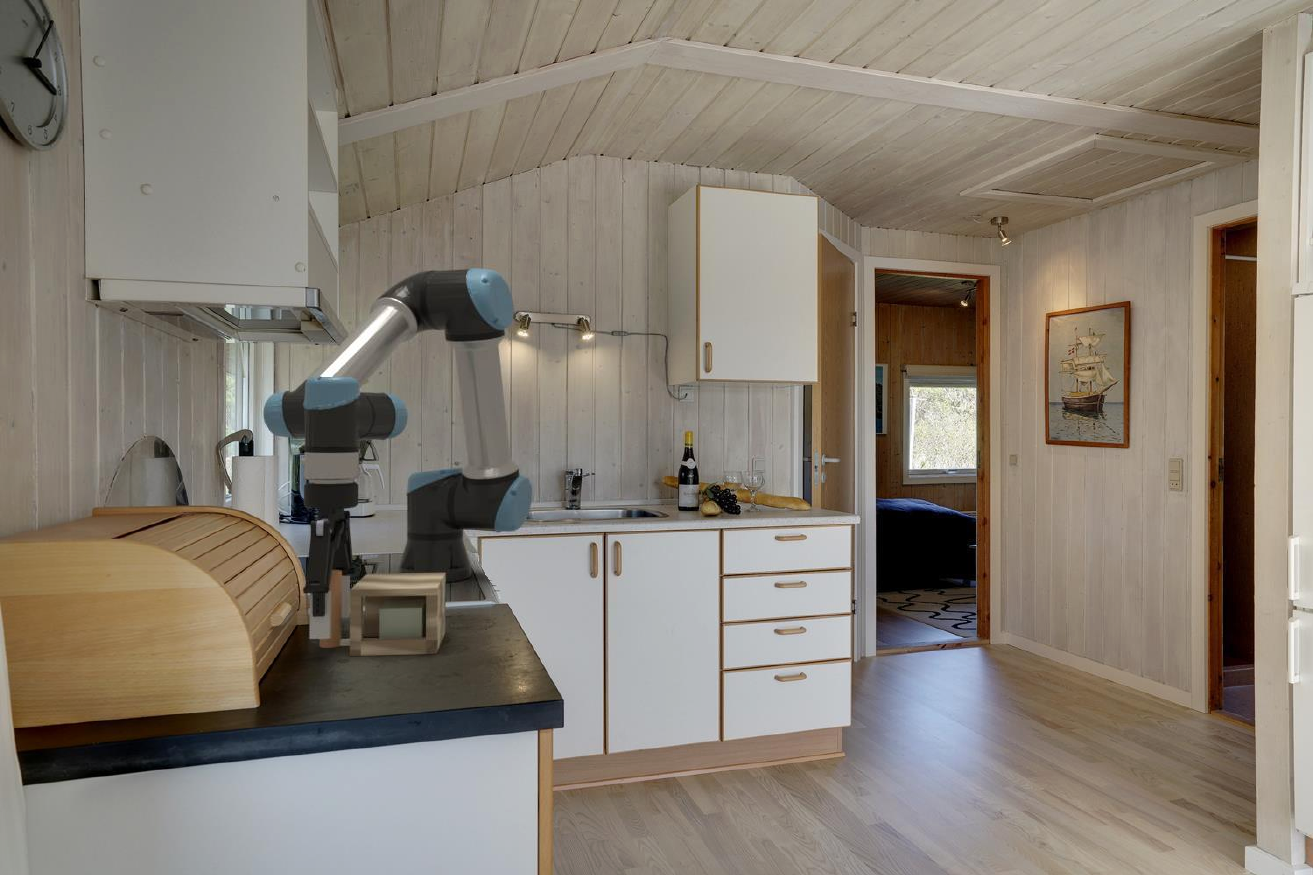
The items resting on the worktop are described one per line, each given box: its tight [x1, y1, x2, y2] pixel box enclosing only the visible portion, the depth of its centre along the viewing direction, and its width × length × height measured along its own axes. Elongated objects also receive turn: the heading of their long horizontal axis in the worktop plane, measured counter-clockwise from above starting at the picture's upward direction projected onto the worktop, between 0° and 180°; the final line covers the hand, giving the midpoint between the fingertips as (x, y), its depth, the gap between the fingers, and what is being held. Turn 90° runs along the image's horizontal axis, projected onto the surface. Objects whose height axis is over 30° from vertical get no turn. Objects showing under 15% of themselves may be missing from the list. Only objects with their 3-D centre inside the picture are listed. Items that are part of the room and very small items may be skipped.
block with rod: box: [319, 570, 426, 649], centre depth 123 cm, size 6×15×11 cm, turn 99°
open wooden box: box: [349, 572, 447, 657], centre depth 124 cm, size 12×12×10 cm
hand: (330, 627), depth 122 cm, fingers open, 11 cm apart
